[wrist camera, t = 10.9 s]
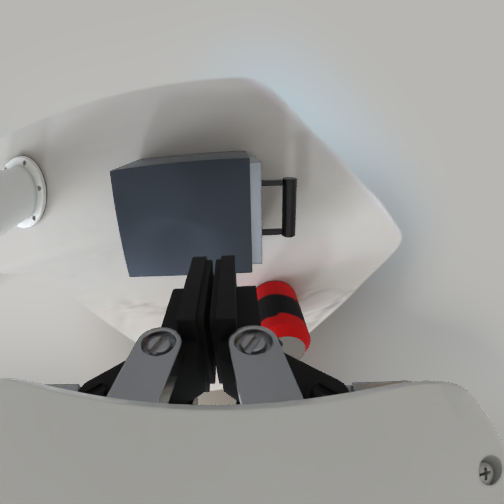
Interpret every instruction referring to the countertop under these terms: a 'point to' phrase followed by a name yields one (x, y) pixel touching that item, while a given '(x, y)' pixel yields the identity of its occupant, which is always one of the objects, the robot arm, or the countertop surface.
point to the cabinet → (184, 211)
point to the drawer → (256, 208)
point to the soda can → (283, 317)
